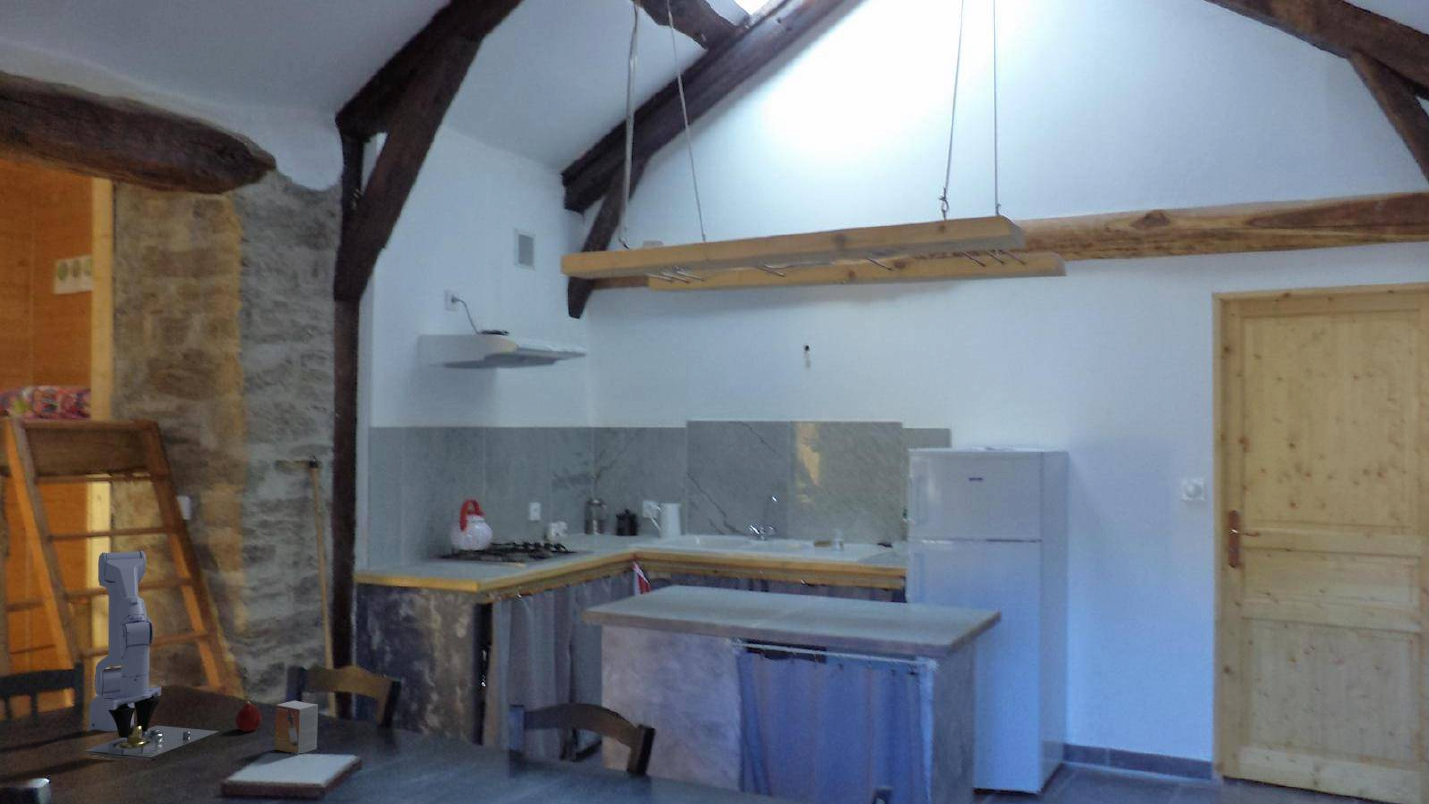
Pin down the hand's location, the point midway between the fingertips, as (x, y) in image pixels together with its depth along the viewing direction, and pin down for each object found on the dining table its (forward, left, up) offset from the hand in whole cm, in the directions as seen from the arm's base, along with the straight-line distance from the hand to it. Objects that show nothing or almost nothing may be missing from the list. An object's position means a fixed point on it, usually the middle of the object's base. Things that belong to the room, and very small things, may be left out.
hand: (133, 734), depth 250 cm
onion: (+15, +20, -4) cm, 26 cm away
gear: (0, 0, -3) cm, 3 cm away
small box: (+34, +12, -4) cm, 37 cm away
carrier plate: (0, +6, -4) cm, 8 cm away
